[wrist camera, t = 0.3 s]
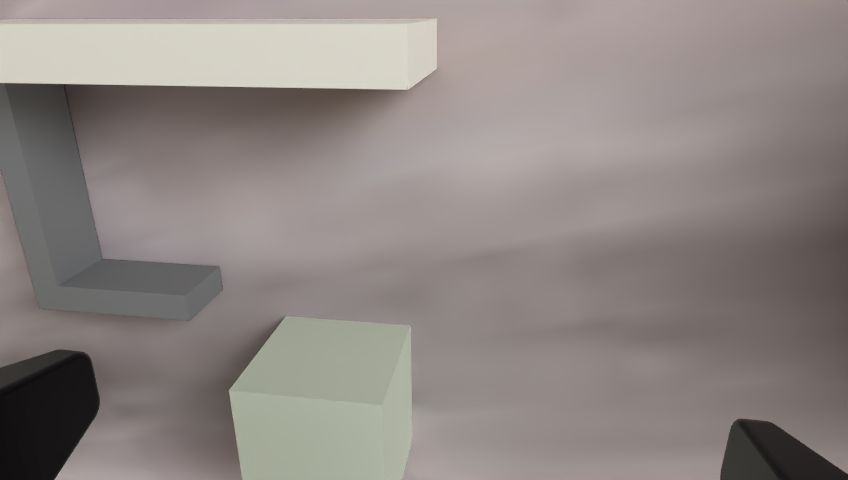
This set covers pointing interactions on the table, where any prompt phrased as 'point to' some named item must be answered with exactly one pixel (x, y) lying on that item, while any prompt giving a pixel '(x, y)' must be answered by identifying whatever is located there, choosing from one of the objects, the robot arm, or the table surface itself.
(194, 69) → the cleat board
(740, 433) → the robot arm
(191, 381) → the table surface
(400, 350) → the cabinet block
